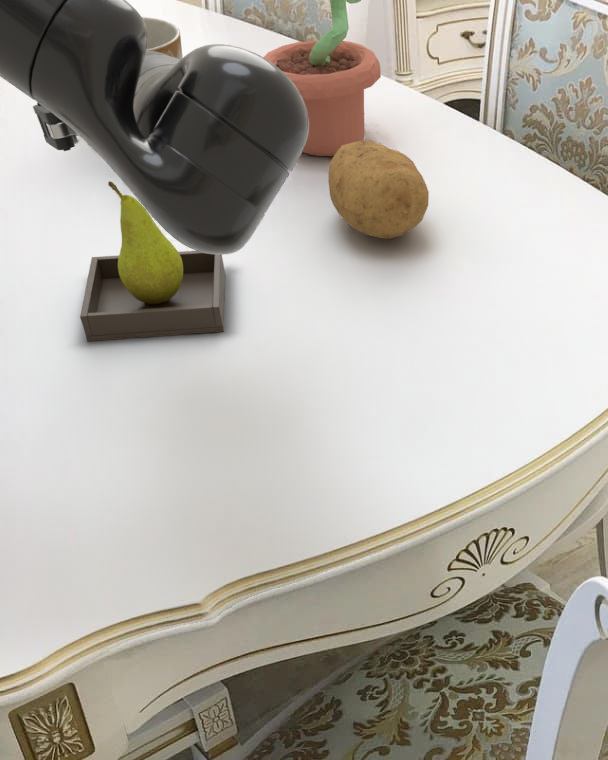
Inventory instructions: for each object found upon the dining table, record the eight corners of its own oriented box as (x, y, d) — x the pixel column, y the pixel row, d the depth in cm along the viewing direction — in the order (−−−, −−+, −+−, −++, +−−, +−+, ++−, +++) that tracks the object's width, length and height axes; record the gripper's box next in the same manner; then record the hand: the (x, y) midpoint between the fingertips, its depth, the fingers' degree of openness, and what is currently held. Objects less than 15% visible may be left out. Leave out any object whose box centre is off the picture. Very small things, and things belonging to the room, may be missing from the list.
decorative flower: (308, 111, 138) (274, -183, 117) (408, 128, 135) (393, -171, 114) (246, 157, 129) (197, -155, 107) (353, 177, 125) (324, -141, 104)
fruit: (197, 287, 107) (171, 162, 98) (177, 318, 103) (148, 191, 94) (139, 283, 107) (108, 158, 98) (117, 314, 103) (83, 186, 94)
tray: (87, 341, 101) (79, 316, 99) (98, 281, 108) (91, 256, 106) (223, 331, 102) (219, 307, 100) (225, 272, 110) (220, 248, 108)
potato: (391, 193, 123) (386, 119, 117) (451, 246, 114) (449, 168, 109) (309, 212, 119) (301, 136, 113) (365, 268, 111) (359, 189, 105)
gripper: (250, 31, 73) (198, 20, 86) (34, 81, 69) (11, 62, 82) (281, 151, 77) (227, 124, 90) (79, 204, 74) (52, 168, 86)
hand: (124, 94), depth 86 cm, fingers open, 8 cm apart
